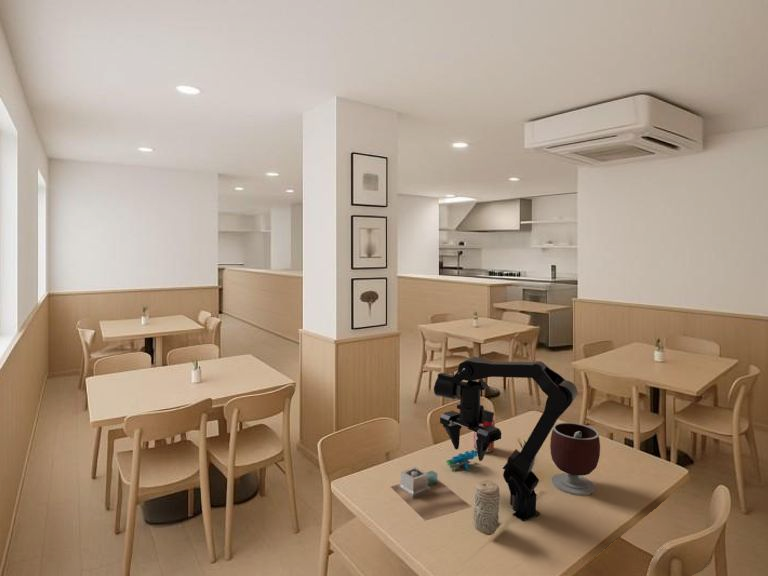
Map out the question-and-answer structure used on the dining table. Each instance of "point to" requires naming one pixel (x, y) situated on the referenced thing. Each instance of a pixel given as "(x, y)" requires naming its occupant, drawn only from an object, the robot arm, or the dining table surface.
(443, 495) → the post board
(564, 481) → the mate gourd
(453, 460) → the blue toy animal
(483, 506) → the carving
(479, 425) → the soda can
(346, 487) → the dining table surface
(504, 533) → the dining table surface
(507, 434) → the dining table surface
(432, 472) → the grey piece
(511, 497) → the robot arm
